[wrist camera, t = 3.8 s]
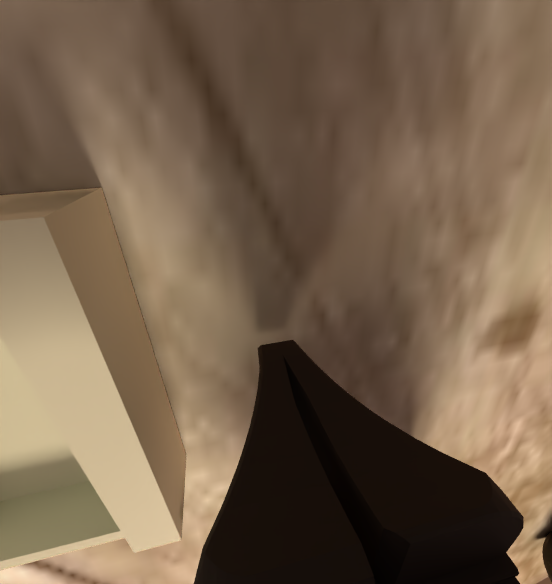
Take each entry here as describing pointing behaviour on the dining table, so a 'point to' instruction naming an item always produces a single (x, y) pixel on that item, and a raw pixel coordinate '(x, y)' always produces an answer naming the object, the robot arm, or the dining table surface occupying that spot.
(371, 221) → the dining table surface
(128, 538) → the tray
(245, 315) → the dining table surface
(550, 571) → the squash
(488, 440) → the dining table surface
